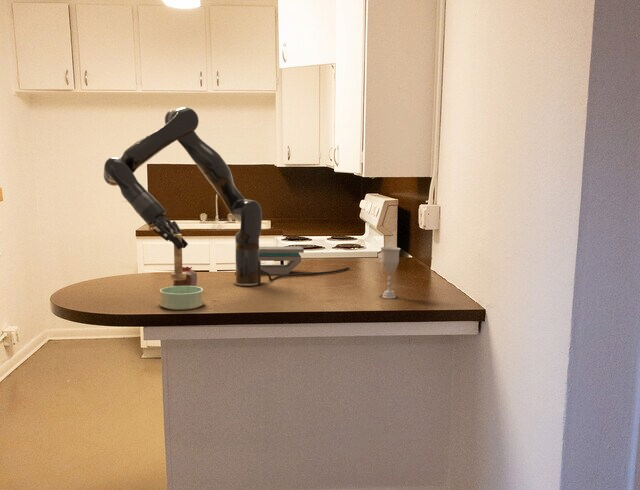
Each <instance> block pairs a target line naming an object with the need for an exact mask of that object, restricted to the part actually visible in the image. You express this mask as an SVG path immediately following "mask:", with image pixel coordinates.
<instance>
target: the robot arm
mask: <svg viewBox="0 0 640 490" xmlns="http://www.w3.org/2000/svg"><path fill="white" fill-rule="evenodd" d="M199 120H200V119H199V116H198V113H197V112H196V111H195V110H194V109H192V108H190V107H185V106H184V107H177V108H173V109H170V110H168V111H167V112H166V113H165V116H164V123H165V124H164V125H163V126H161V127H160V128H159V129H157V130H154V132H151V133H149V134H148V135H146V136H144V137H141V138H140V139H139V140H137V141H136V142H134V143H133V144H132V145H130V146H129V147H128V148H126V149H125V150H124V151H123V153H122V155H121V157H120V158H119V157H117V156H116V157H115V156H113V157H109V158H108V159H106V161H104V162H105V163H104V166H103V180H104V181H105V183H106V184H108V185H109V186H113V187H117V186H118V188H119V190H120V193H121V195H122V197H123V198H124V199H125V200H126V202H127V203H128V204H130V206H131V207H132V208H133V210H134V211H135V212H136V214H137V215H138V216H139V217H140V218H141V219H142V220H143V221H144V222H145V223H146V224H147V226H149V227H152V226H154V228H152V231H153V232H154V233H156V234H157V235H158V236H160V237H161V238H162V239H163V240H165V241H166V242H168V241H169V242H171V243H172V244H173V246H174V245H175V246H176V247H177V248H178V249H181V248H182V249H185V248H186V247H188V245H189V243H188V242H187V241H186V240H185V238H183V237H182V242H181V241H180V240H179V239H178V238H177V237H176V235H175V234H182V235H183V232H182V230H181V228H180V227H179V225H178V223H177V222H176V221H175V220H173V221H171V220H170V219H169V218H167V216H166V214H167V210H166V209H165V208H164V206H162V204H161V203H160V202H159V201H158V200H157V199H156V197H154V196H153V195H152V194H151V193H150V192H149V191H148V190H147V189H146V188H145V187H144V186H143V185H142V184H141V183H140V182H139V181H138V179H137V177H136V176H135V174H134V173H135V172H136V171H137V170H138V169H139V168H140V167H141V166H143V165H145V164H146V163H147V162H149V160H151V159H152V158H154V157H155V156H156V155H157V154H158V153H160V152H161V151H163V150H164V149H165V148H168V146H170V145H171V144H173V143H174V142H178V143H179V144H180V145H181V147H182V148H183V149H184V150H185V151H186V152H187V154H188V156H189V157H190V158H191V159H192V161H193V162H194V164H195V165H196V166H197V167H198V170H199V171H200V172H201V173H202V175H203V176H204V178H205V179H206V180H207V181H208V182H209V184H210V185H211V186H212V188H213V189H214V190H215V192H216V194H218V195H219V197H220V198H221V200H222V201H223V203H224V204H225V206H226V208H227V210H228V211H229V213H230V215H231V216H232V218H233V219H234V220H235V221H236V222H237V223H240V228H239V231H238V232H236V233H235V235H234V238H235V239H234V240H235V243H234V245H235V246H234V248H235V249H234V250H235V251H234V253H235V272H234V276H235V285H237V286H238V287H239V286H240V287H254V286H255V287H256V286H262V285H261V284H262V276H264V275H267V277H268V280H269V281H270V282H273V281H275V280H277V279H280V278H284V277H285V278H286V277H297V276H299V277H300V276H313V275H314V276H315V275H326V274H334V273H339V272H343V271H346V270H347V271H348V270H349V269H350V266H347V267H344V268H340V269H334V270H326V271H315V272H301V273H300V272H299V273H289V274H277V275H276V276H274V277H273V278H272V276H271V274H269V273H267V272H265V271H263V269H261V265H262V261H260V260H259V247H260V236H261V234H262V222H263V212H262V207H261V204H260V203H259V202H258V201H256V200H252V199H246V198H245V197H244V196H243V195H242V193H241V192H240V191H239V190H238V188H237V187H236V185H235V182H234V178H233V175H232V170H231V169H230V167H229V166H228V164H227V163H226V161H225V160H224V159H223V157H222V156H221V154H220V153H218V152H217V151H216V150H215V149H214V148H213V147H211V146H210V145H209V144H207V143H206V142H205V141H203V139H201V137H199V135H198V134H197V132H196V130H197V128H198V127H199ZM175 237H176V238H175ZM263 273H264V274H263Z"/></svg>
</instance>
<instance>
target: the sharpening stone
mask: <svg viewBox="0 0 640 490" xmlns="http://www.w3.org/2000/svg"><path fill="white" fill-rule="evenodd" d="M304 252H305V249H304V247H303V246H259V260H260V261H261V262H277V261H278V262H282V261H283V262H287V261H288V262H287V263H286V264H261V269H263V271H265V272H267V273H269V274H270V275H285V274H291V272H292V271H293V270H295V268H296V267H297V266H299V265H300V263H301V262H302V255H301V254H304ZM300 253H301V254H300ZM263 275H265V274H264V273H263Z"/></svg>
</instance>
